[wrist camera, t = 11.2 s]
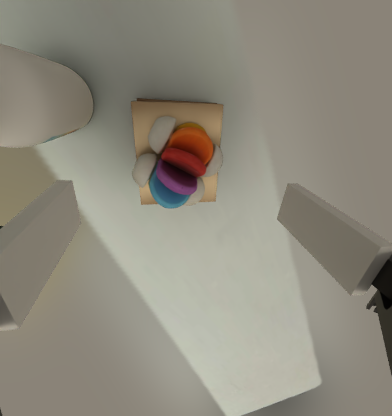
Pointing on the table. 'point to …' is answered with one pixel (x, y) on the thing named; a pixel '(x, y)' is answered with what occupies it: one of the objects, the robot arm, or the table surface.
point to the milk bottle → (39, 99)
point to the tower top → (183, 113)
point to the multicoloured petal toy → (177, 163)
